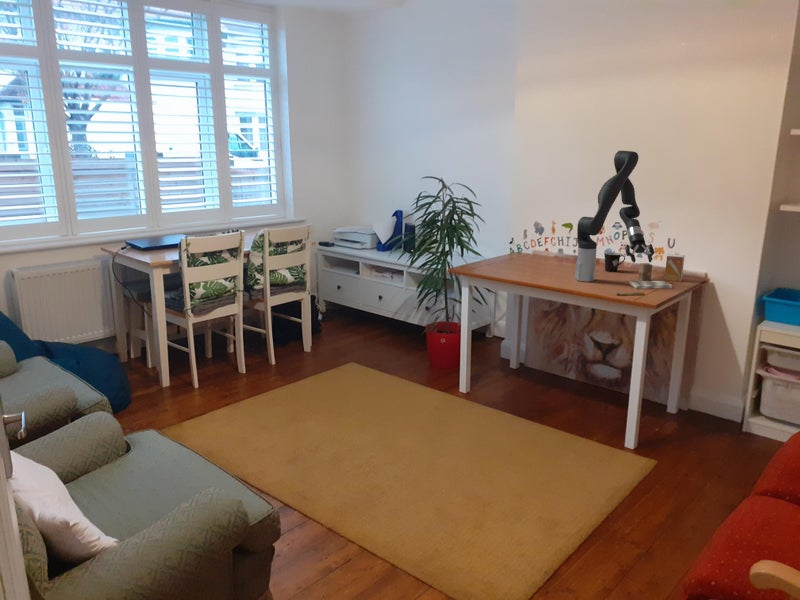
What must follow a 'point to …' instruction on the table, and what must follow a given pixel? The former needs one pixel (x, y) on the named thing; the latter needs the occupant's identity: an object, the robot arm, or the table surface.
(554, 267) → the table surface
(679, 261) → the small box
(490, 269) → the table surface
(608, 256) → the coffee mug
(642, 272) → the block
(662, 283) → the board
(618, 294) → the pencil
